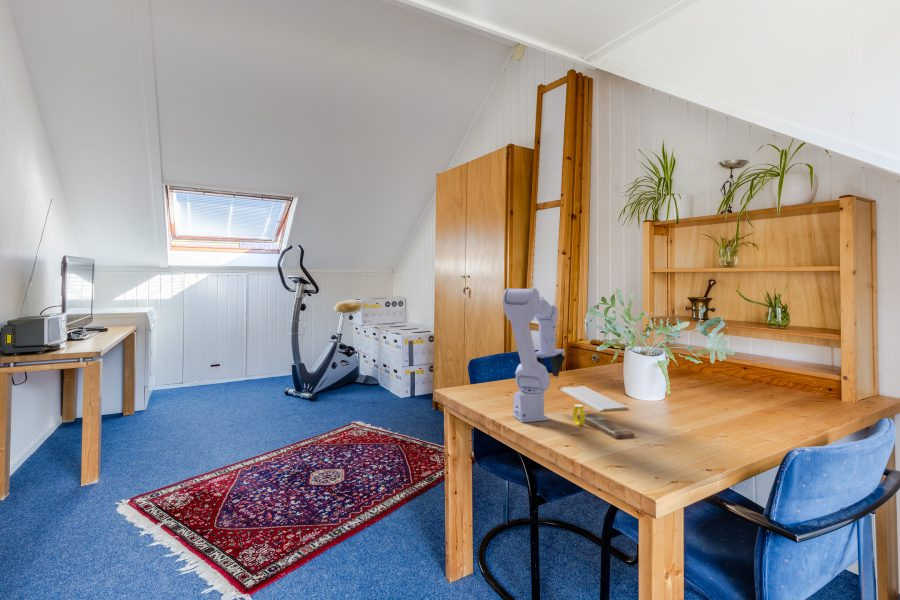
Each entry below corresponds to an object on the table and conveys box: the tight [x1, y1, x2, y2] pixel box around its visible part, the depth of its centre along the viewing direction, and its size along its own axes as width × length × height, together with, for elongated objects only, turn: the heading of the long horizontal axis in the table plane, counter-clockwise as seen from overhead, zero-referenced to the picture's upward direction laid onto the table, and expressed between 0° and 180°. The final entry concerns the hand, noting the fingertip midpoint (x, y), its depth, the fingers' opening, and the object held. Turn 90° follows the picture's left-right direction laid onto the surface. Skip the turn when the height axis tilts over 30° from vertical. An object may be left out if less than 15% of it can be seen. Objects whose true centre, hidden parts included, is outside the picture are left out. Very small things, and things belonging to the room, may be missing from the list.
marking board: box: [577, 413, 635, 440], centre depth 137 cm, size 6×20×1 cm, turn 15°
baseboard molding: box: [558, 383, 629, 413], centre depth 169 cm, size 31×3×12 cm
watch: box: [572, 404, 586, 427], centre depth 140 cm, size 6×3×6 cm, turn 7°
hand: (547, 377), depth 159 cm, fingers open, 7 cm apart
